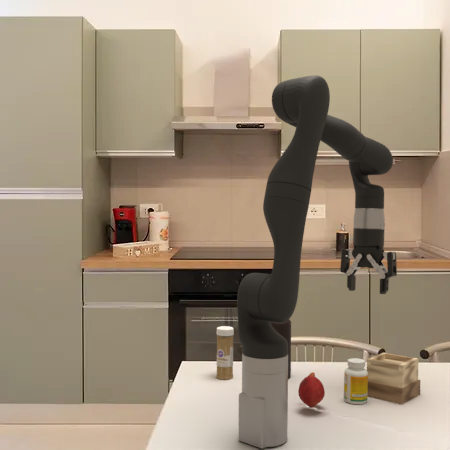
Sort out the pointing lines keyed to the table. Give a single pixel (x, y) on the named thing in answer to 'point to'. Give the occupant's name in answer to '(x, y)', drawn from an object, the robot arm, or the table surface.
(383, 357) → the tower top
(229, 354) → the sprinkles bottle
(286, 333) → the vinegar
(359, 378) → the supplement bottle
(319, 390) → the onion
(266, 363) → the robot arm
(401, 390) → the tower base
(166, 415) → the table surface
